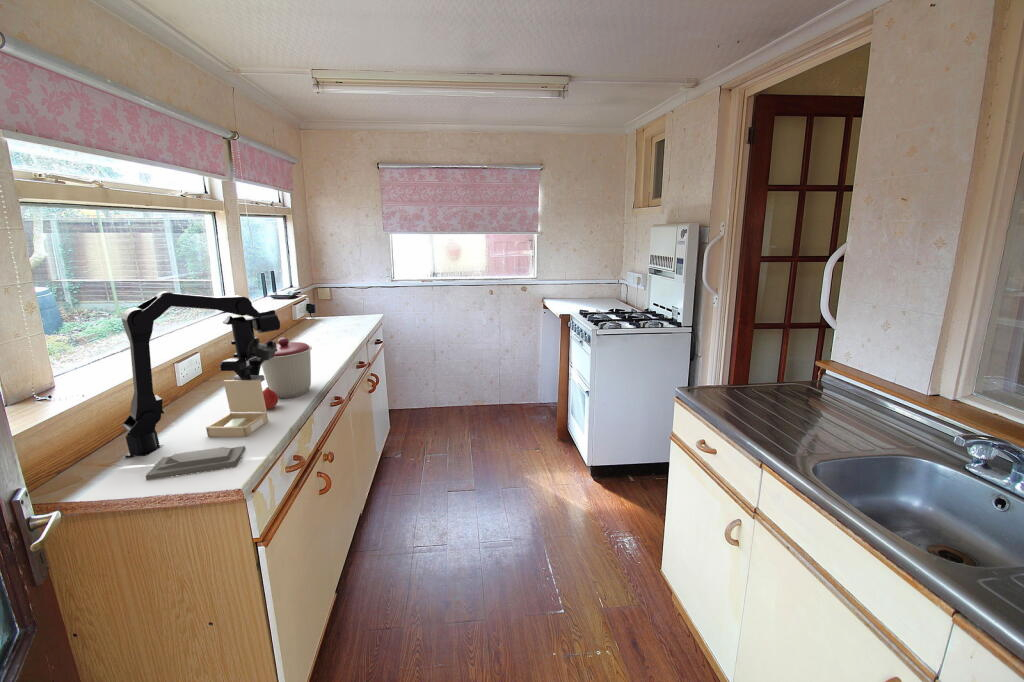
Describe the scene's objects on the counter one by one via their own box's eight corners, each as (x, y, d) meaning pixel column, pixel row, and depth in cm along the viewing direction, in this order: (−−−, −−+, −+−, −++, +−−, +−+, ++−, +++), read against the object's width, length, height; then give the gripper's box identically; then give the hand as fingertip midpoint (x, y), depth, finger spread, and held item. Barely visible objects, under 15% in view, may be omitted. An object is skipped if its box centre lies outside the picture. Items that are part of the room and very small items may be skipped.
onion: (258, 414, 159) (254, 391, 157) (262, 407, 165) (258, 385, 163) (278, 411, 161) (274, 388, 159) (281, 405, 166) (277, 383, 164)
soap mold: (164, 463, 129) (161, 451, 128) (246, 452, 134) (244, 440, 133) (146, 482, 119) (143, 469, 118) (236, 469, 124) (234, 457, 123)
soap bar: (238, 432, 144) (237, 426, 144) (224, 433, 144) (223, 426, 143) (247, 424, 150) (246, 418, 149) (233, 424, 150) (232, 418, 149)
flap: (259, 380, 147) (269, 374, 153) (223, 380, 149) (234, 374, 154) (265, 412, 150) (275, 405, 156) (230, 412, 151) (240, 405, 157)
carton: (247, 438, 141) (245, 427, 140) (208, 438, 142) (206, 427, 141) (268, 423, 152) (266, 412, 151) (232, 422, 153) (230, 412, 152)
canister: (252, 400, 172) (242, 343, 167) (286, 384, 189) (278, 331, 184) (296, 403, 167) (287, 344, 162) (327, 386, 184) (320, 332, 179)
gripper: (250, 343, 140) (259, 394, 144) (285, 329, 158) (292, 374, 162) (214, 343, 141) (223, 394, 145) (252, 329, 159) (260, 375, 163)
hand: (252, 384), depth 153 cm, fingers open, 3 cm apart
